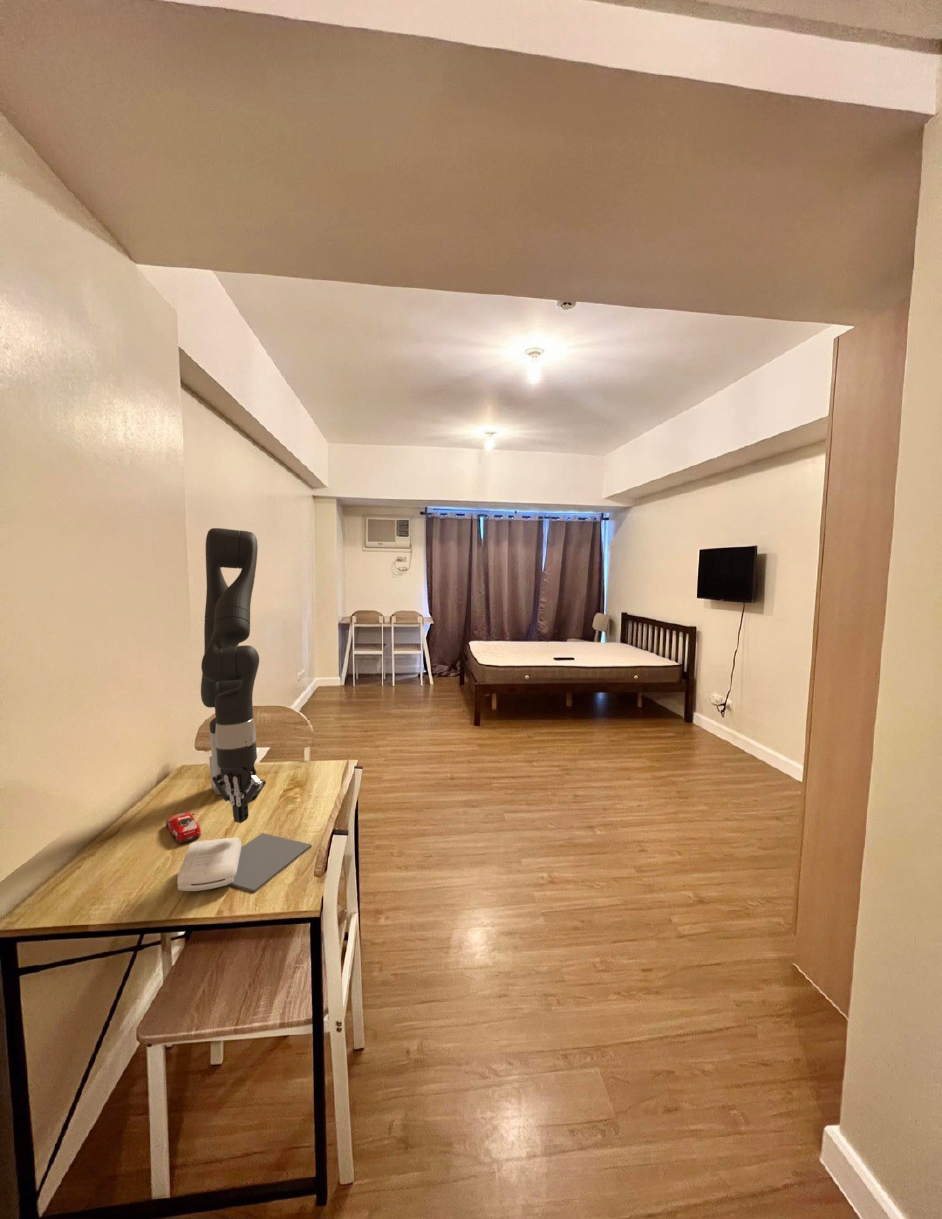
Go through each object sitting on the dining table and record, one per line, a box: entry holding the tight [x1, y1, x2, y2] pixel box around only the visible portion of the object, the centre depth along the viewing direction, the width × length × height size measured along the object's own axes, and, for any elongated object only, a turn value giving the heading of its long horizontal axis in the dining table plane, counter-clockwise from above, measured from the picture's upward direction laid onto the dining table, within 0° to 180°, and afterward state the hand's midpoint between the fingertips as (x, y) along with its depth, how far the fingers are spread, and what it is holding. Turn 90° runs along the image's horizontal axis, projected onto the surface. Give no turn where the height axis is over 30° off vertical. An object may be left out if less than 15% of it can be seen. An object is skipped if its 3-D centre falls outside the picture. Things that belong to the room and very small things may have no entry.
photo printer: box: [176, 837, 243, 892], centre depth 95 cm, size 10×4×12 cm
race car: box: [165, 812, 202, 844], centre depth 113 cm, size 13×5×4 cm, turn 42°
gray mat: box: [227, 832, 312, 893], centre depth 101 cm, size 14×16×1 cm
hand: (241, 820), depth 101 cm, fingers closed
